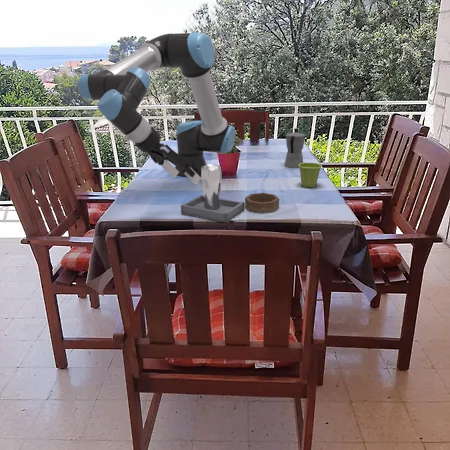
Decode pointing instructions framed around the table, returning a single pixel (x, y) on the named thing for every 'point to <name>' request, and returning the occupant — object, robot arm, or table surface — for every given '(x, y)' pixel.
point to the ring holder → (262, 202)
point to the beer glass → (211, 186)
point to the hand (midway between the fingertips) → (187, 178)
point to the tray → (223, 215)
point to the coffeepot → (294, 149)
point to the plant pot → (309, 174)
